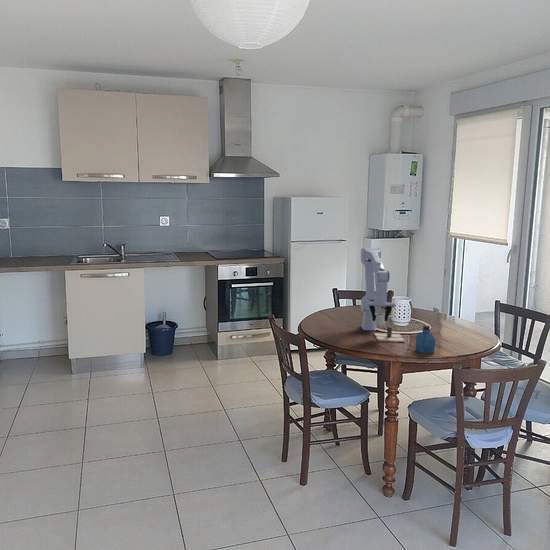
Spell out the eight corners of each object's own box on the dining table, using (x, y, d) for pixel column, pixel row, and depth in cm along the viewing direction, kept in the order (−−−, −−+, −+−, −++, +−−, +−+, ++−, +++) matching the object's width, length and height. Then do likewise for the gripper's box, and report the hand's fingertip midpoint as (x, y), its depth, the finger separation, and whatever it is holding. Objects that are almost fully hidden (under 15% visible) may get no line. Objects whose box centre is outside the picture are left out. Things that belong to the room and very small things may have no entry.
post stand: (374, 334, 277) (374, 323, 276) (399, 335, 277) (399, 324, 276) (378, 342, 264) (379, 330, 263) (404, 342, 264) (405, 330, 263)
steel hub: (373, 322, 272) (373, 312, 271) (384, 322, 271) (384, 313, 271) (374, 325, 266) (375, 315, 265) (385, 325, 266) (386, 315, 265)
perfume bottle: (422, 353, 247) (424, 328, 245) (415, 349, 253) (417, 325, 251) (434, 352, 249) (435, 327, 247) (426, 348, 255) (428, 324, 253)
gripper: (367, 295, 263) (366, 322, 265) (397, 296, 262) (395, 323, 264) (365, 292, 270) (364, 318, 272) (394, 293, 269) (393, 319, 271)
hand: (379, 320), depth 269 cm, fingers closed on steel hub, 5 cm apart
